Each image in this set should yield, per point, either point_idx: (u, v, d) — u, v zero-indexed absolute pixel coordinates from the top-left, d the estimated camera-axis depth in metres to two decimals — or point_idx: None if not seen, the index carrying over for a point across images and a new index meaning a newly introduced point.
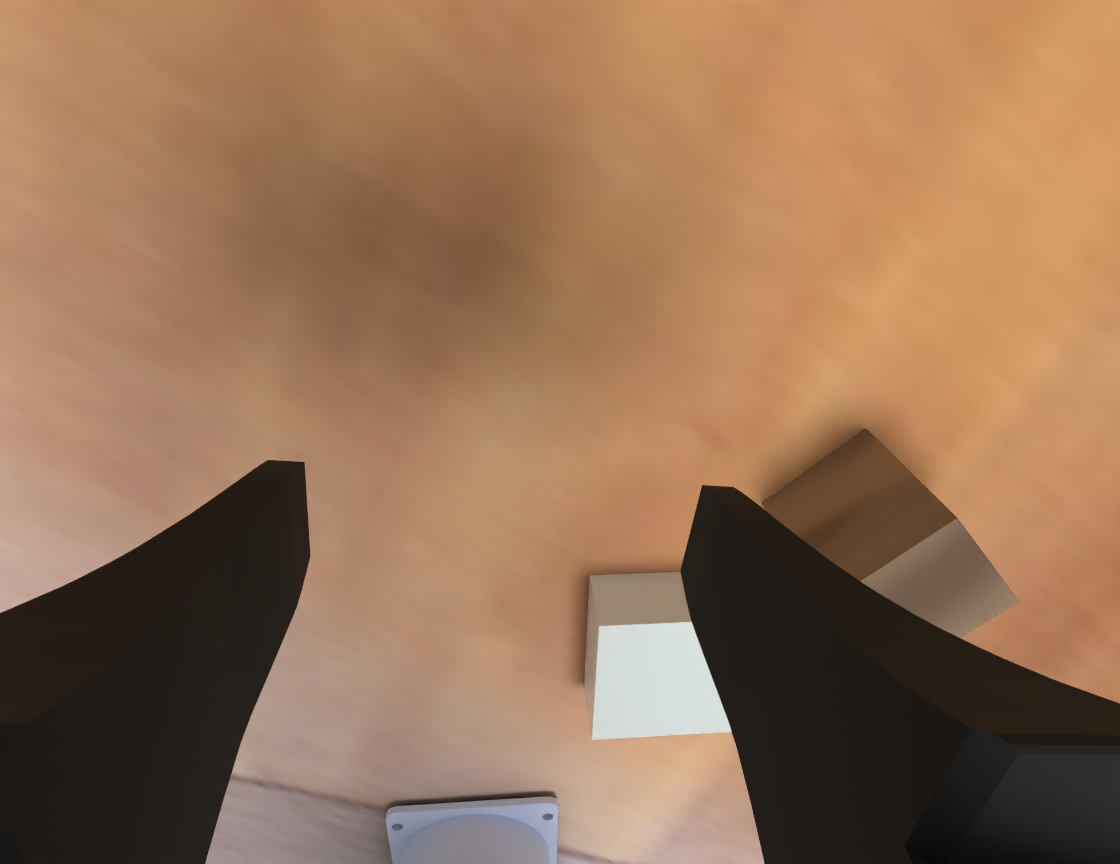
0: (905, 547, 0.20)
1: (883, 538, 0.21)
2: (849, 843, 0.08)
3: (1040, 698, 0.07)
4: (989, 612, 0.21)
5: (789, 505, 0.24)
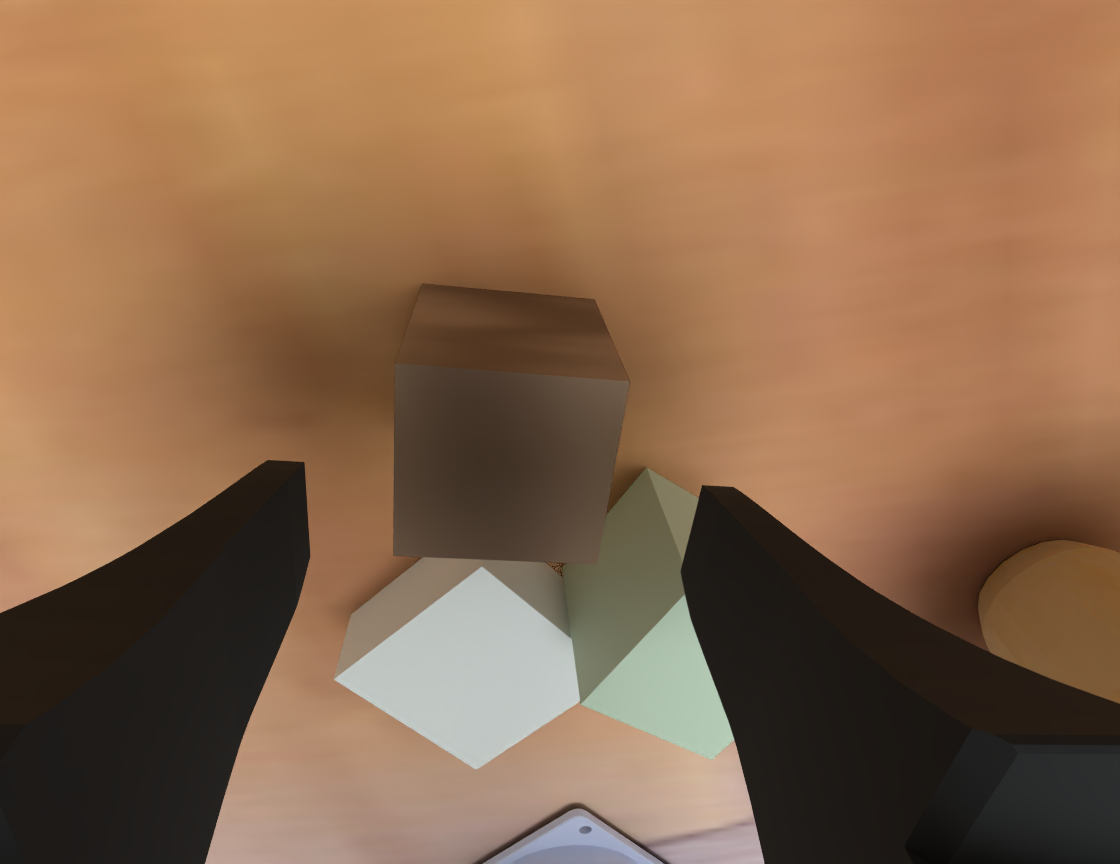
0: (394, 436, 0.14)
1: None
2: (849, 843, 0.08)
3: (1040, 699, 0.07)
4: (607, 421, 0.14)
5: None
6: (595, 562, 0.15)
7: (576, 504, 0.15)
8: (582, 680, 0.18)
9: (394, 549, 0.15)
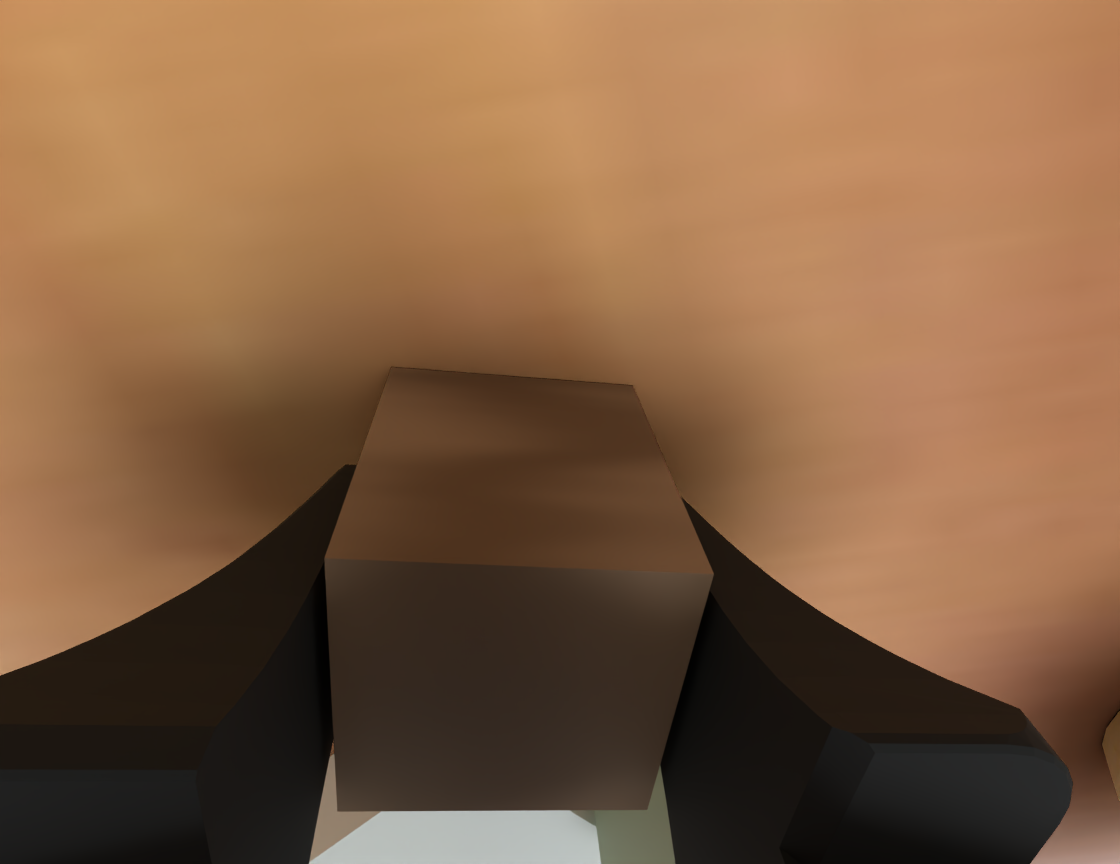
0: (331, 655, 0.08)
1: None
2: (738, 845, 0.07)
3: (919, 696, 0.07)
4: (673, 629, 0.09)
5: None
6: (645, 808, 0.10)
7: (619, 739, 0.09)
8: None
9: (338, 803, 0.10)
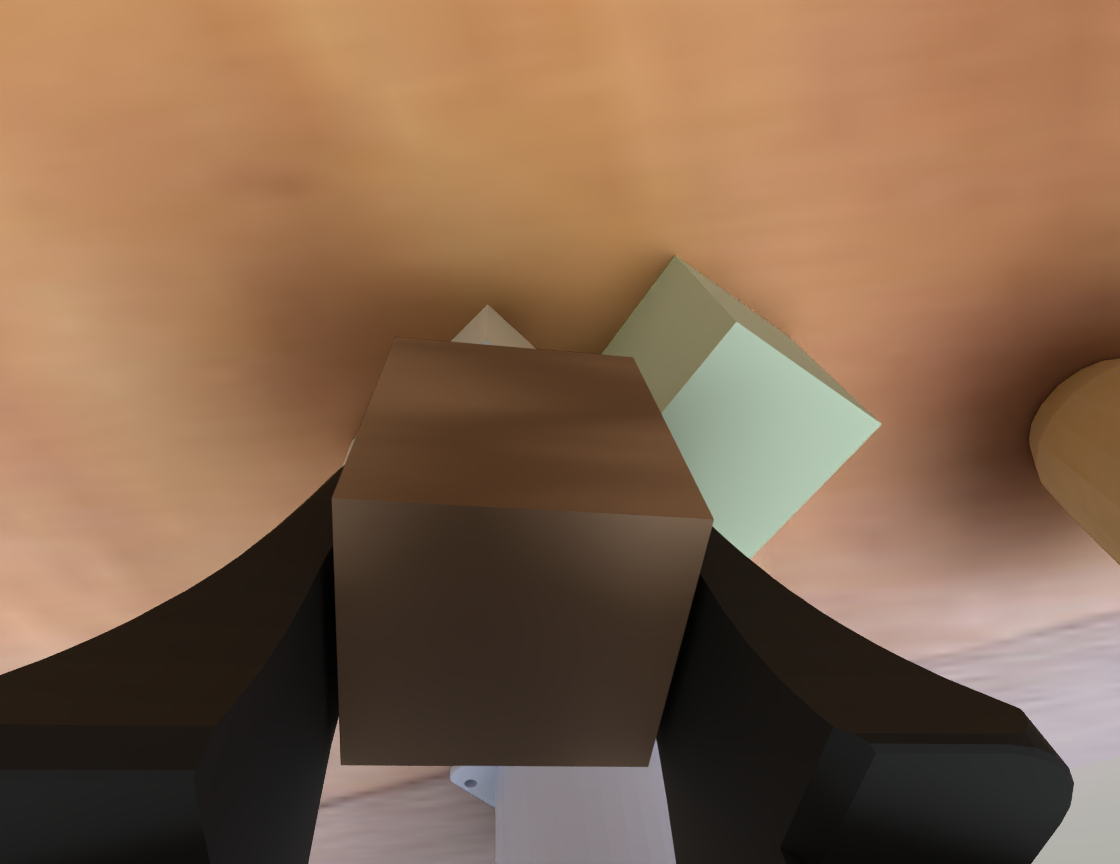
0: (337, 602, 0.09)
1: None
2: (739, 845, 0.07)
3: (920, 696, 0.07)
4: (674, 577, 0.09)
5: None
6: (645, 765, 0.10)
7: (620, 691, 0.10)
8: None
9: (342, 756, 0.10)
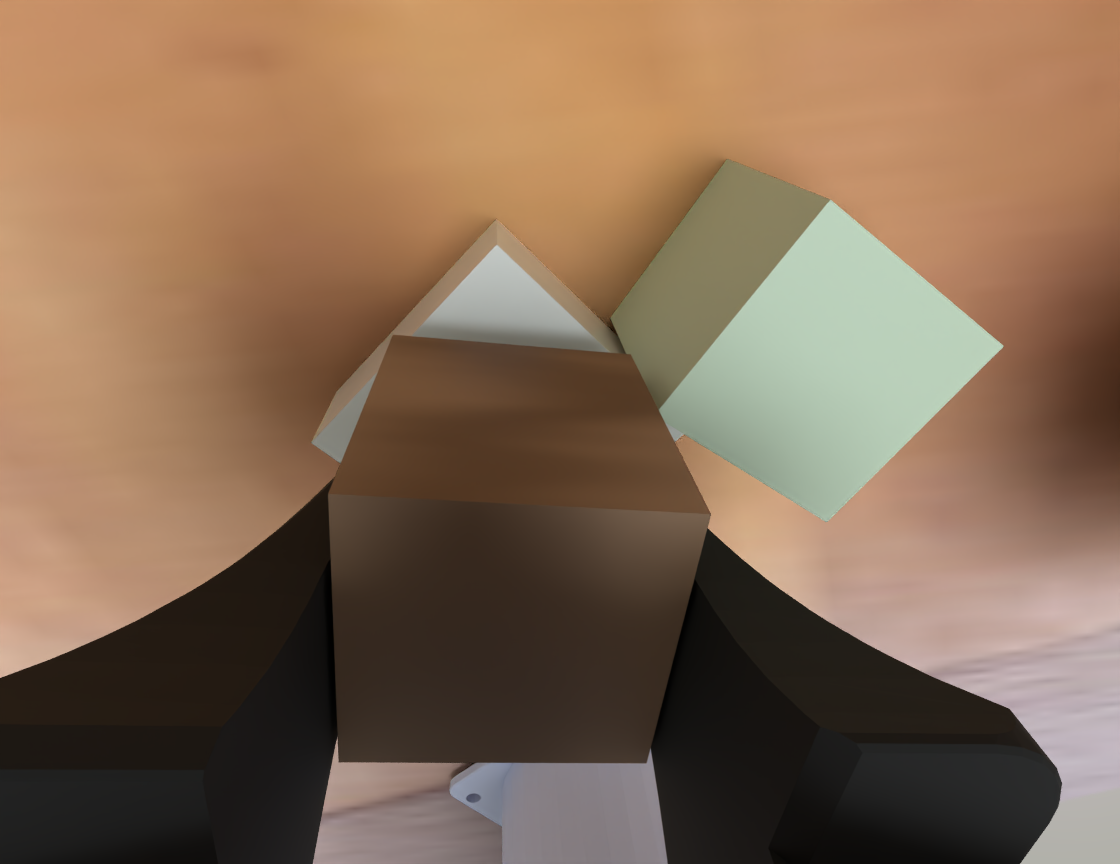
0: (334, 598, 0.09)
1: None
2: (728, 845, 0.07)
3: (908, 697, 0.07)
4: (671, 572, 0.09)
5: None
6: (644, 761, 0.10)
7: (618, 687, 0.09)
8: (654, 392, 0.13)
9: (340, 753, 0.10)
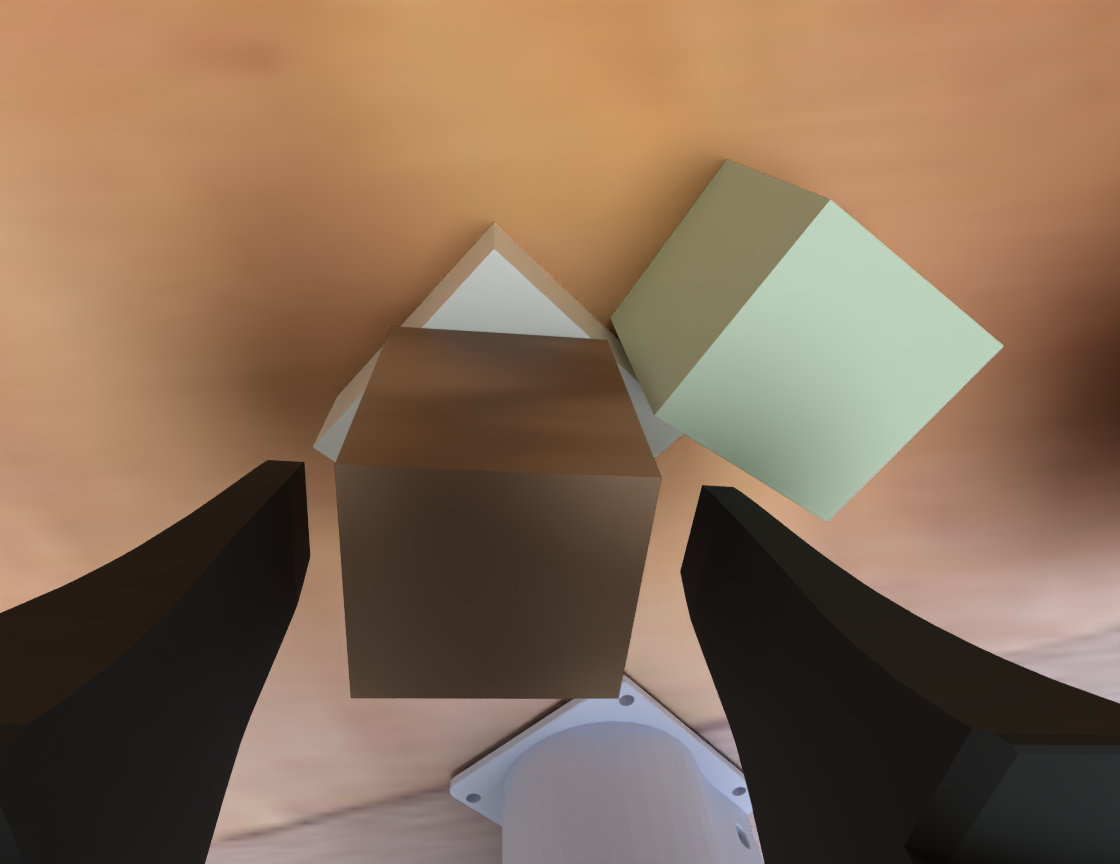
0: (342, 554, 0.10)
1: None
2: (849, 843, 0.08)
3: (1040, 699, 0.07)
4: (630, 529, 0.10)
5: None
6: (616, 696, 0.12)
7: (590, 631, 0.11)
8: (654, 392, 0.13)
9: (351, 690, 0.11)
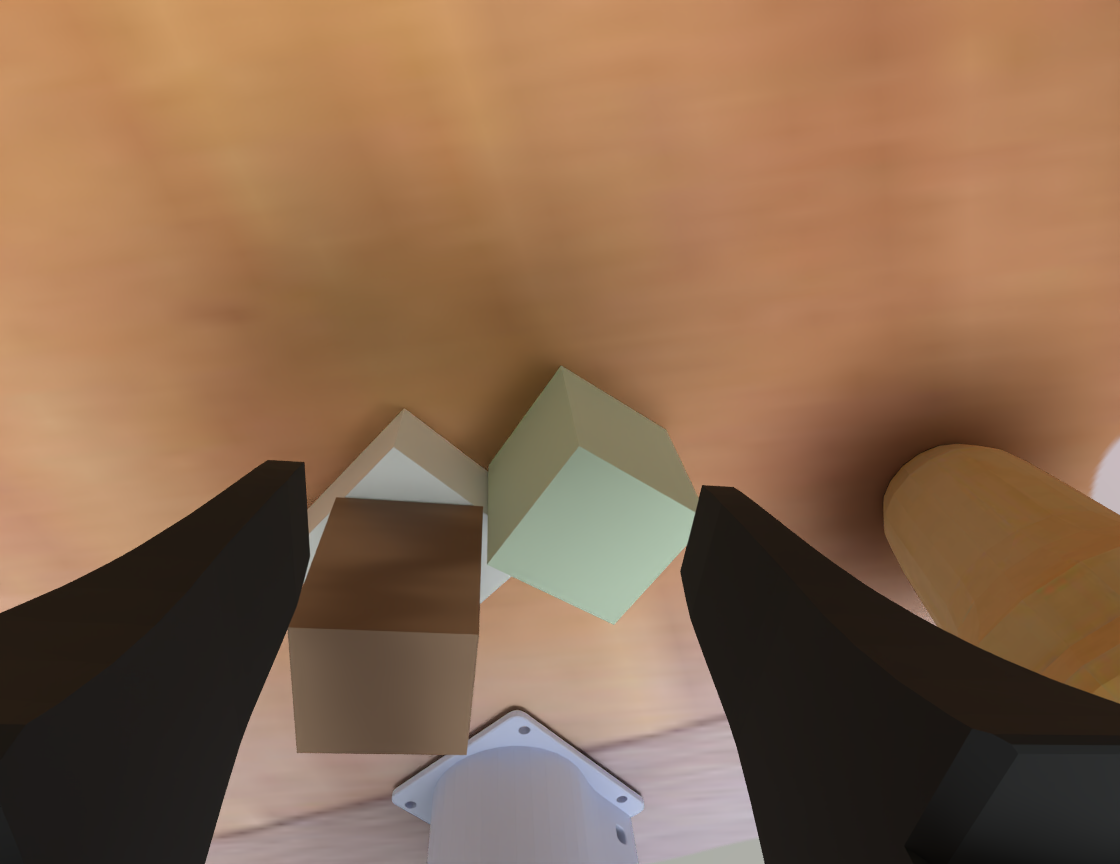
0: (292, 672, 0.17)
1: None
2: (849, 843, 0.08)
3: (1040, 699, 0.07)
4: (463, 660, 0.17)
5: None
6: (464, 754, 0.19)
7: (444, 715, 0.18)
8: (491, 546, 0.20)
9: (297, 748, 0.18)
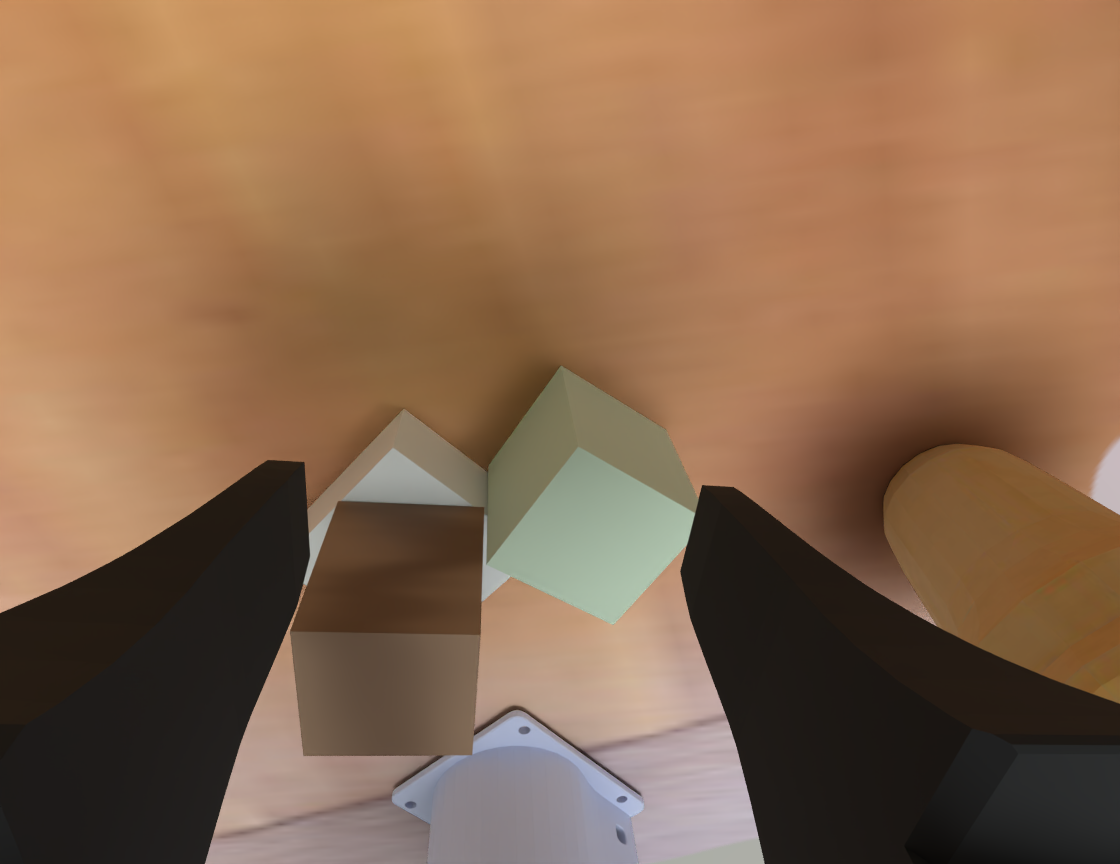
0: (296, 675, 0.17)
1: None
2: (849, 843, 0.08)
3: (1040, 699, 0.07)
4: (466, 661, 0.17)
5: None
6: (470, 754, 0.19)
7: (449, 716, 0.18)
8: (490, 546, 0.20)
9: (304, 751, 0.18)
